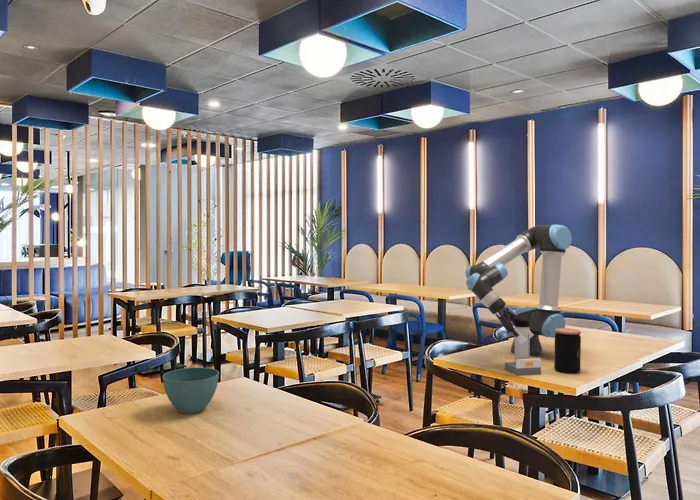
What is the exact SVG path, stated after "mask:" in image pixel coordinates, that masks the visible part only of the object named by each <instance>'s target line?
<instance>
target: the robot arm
mask: <svg viewBox="0 0 700 500" xmlns="http://www.w3.org/2000/svg"><path fill="white" fill-rule="evenodd" d="M572 241H573V237H572V233H571V231H570V230H569V228H568V227H567V226H565V225H563V224H557V223H556V224H539V225H535V226H532V227H530V228H527V229H526V230H525V231H522V233H519V234H518V235H517V236H516V238H515V240H513V241H512V242H510V243H508V244H506V245H504V247H502V248H500V249H499V250H497V251H496V252H494V253H493V254H491V255H490V256H488V257H486V258H485V259H484V260H482V261H481V262H479V263H477V264H472V265H468V266H467V267H466V269H465V277H466V278H467V279H466V280H465V284H466V286H467V287H468V289H469V290H470V291H471V292H472V293H473V294H474V295H475V296H476V298H477V299H479V300H480V302H481V304H482V305H483V306H485V307H486V308H488V311H489V312H491V314H492V315H495V316H496V318H497V319H498V320H499V322H500V324H501V325H502V326H503V328H504V329H505V331H506V333H507V334H511V335H512V336H514V338H513V340H512V343H511V347H510V352H511V353H513V354H515V338H516V339H517V340H518V341H519V342H520V343H521V344H522V343H524V342H525V341H526V339H525V338H524V337H523V336H522V335H521V334H520V333H519V331H518V330H517V329H516V328H515V327H514V325H515V321H514V319H522V320H527V321H529V327H530V328H529V329H530V356H541V355H543V347H542V344H541V341H540V338H539V337H540V336H543V337H545V338H551V339H552V338H554V339H555V334H556V332H555V329H558V328H566V319H565V317H564V316H563V315H562V314H561V313H562V308H560V307H559V298H560V297H559V295H560V293H559V292H560V285H561V271H562V257H563V256H564V255H565V254H566V250H567V249H569V248H570V246H571V245H572ZM536 249H539V252H540V254H541V255H542V262H541V263H542V264H541V274H540V290H539V301H538V305H537V306H528V307H524V306H523V307H517V308H516V309H515V311H514V312H512V310H511V309H510V308H509V307H506V308H505V306H506V304H507V303H506V302H505V301H504V299H502V297H500V295H499V294H498V293H497V292H496V291H495V290H494V289H493V287H495V286H496V285H497V284H499V283H501V282H502V281H503V280H504V279H505V278H507V277H508V276H509V275H508V274H509V273H508V272H509V271H508V269H507V267H506V266H505V265H507V264H509V263H511V261H513V260H514V259H516V258H518V257H520V256H521V255H522V254H524V253H529V252H531V251H532V250H536ZM513 324H514V325H513ZM514 328H515V329H514Z"/></svg>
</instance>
